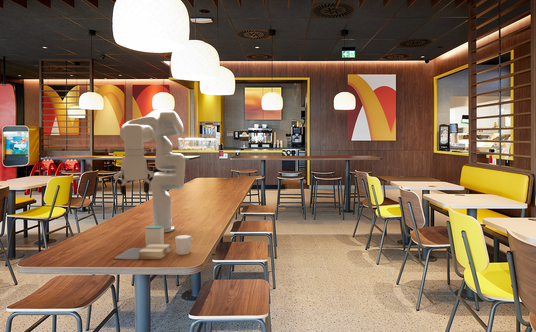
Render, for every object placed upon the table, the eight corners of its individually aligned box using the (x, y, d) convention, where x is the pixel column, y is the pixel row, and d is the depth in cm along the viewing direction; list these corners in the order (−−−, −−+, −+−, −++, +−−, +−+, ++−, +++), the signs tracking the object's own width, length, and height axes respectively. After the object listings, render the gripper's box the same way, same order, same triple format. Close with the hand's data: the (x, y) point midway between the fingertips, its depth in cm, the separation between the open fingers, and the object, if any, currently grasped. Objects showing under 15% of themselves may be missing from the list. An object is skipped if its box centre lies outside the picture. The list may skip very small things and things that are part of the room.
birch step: (150, 250, 148) (150, 243, 148) (170, 250, 147) (170, 244, 147) (139, 258, 137) (138, 251, 137) (160, 259, 136) (160, 252, 136)
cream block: (149, 244, 157) (149, 225, 156) (164, 245, 156) (163, 225, 155) (145, 247, 153) (145, 227, 152) (160, 247, 152) (160, 227, 151)
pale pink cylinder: (172, 252, 145) (171, 236, 144) (186, 249, 150) (186, 233, 149) (180, 256, 140) (180, 239, 140) (194, 252, 145) (194, 236, 144)
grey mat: (130, 248, 150) (130, 247, 150) (152, 249, 149) (152, 248, 149) (113, 259, 136) (113, 258, 136) (137, 259, 135) (137, 259, 135)
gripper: (149, 153, 152) (150, 190, 153) (109, 153, 140) (111, 194, 141) (157, 153, 146) (158, 192, 147) (116, 154, 134) (117, 196, 135)
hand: (135, 193), depth 144 cm, fingers open, 9 cm apart
